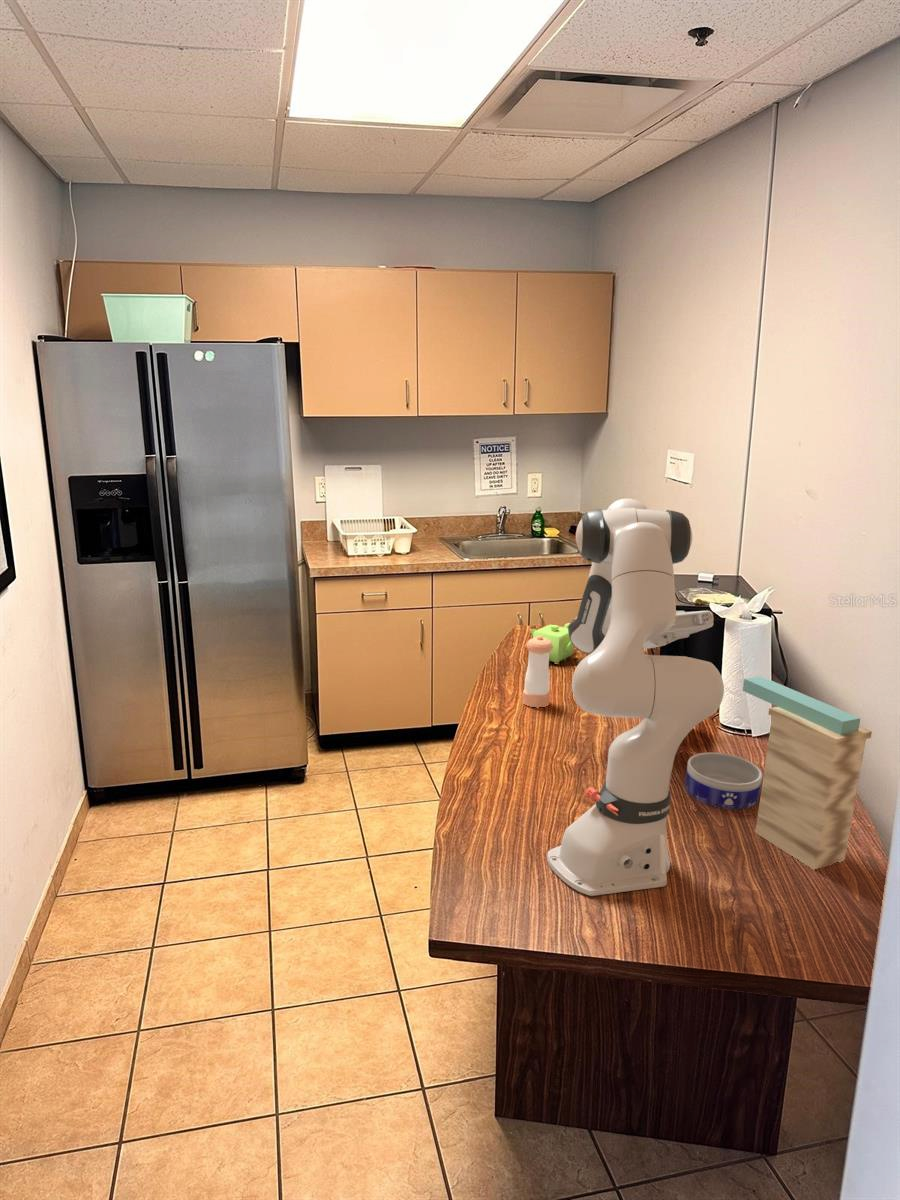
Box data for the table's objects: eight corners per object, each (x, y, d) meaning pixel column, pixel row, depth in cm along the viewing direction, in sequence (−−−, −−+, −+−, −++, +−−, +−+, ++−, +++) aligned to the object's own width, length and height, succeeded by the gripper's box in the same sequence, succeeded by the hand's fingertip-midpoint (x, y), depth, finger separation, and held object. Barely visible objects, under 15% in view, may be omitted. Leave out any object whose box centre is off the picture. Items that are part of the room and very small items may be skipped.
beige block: (814, 872, 147) (836, 739, 141) (751, 831, 160) (769, 708, 154) (848, 861, 151) (871, 731, 145) (784, 823, 164) (803, 701, 158)
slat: (840, 735, 143) (842, 721, 142) (742, 690, 163) (744, 678, 162) (858, 731, 145) (860, 718, 144) (759, 687, 165) (760, 676, 164)
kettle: (567, 651, 268) (570, 618, 265) (582, 666, 254) (585, 631, 251) (523, 653, 265) (525, 619, 262) (536, 667, 251) (539, 632, 248)
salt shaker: (518, 705, 220) (522, 637, 216) (527, 696, 227) (531, 630, 222) (544, 710, 218) (549, 641, 213) (552, 701, 224) (557, 634, 219)
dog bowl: (748, 779, 183) (752, 754, 181) (767, 813, 168) (771, 786, 167) (679, 774, 184) (682, 749, 183) (692, 807, 170) (695, 781, 168)
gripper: (615, 618, 186) (653, 608, 173) (685, 610, 194) (726, 600, 182) (620, 646, 185) (658, 637, 173) (690, 637, 194) (732, 628, 181)
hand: (694, 618), depth 177 cm, fingers open, 8 cm apart
